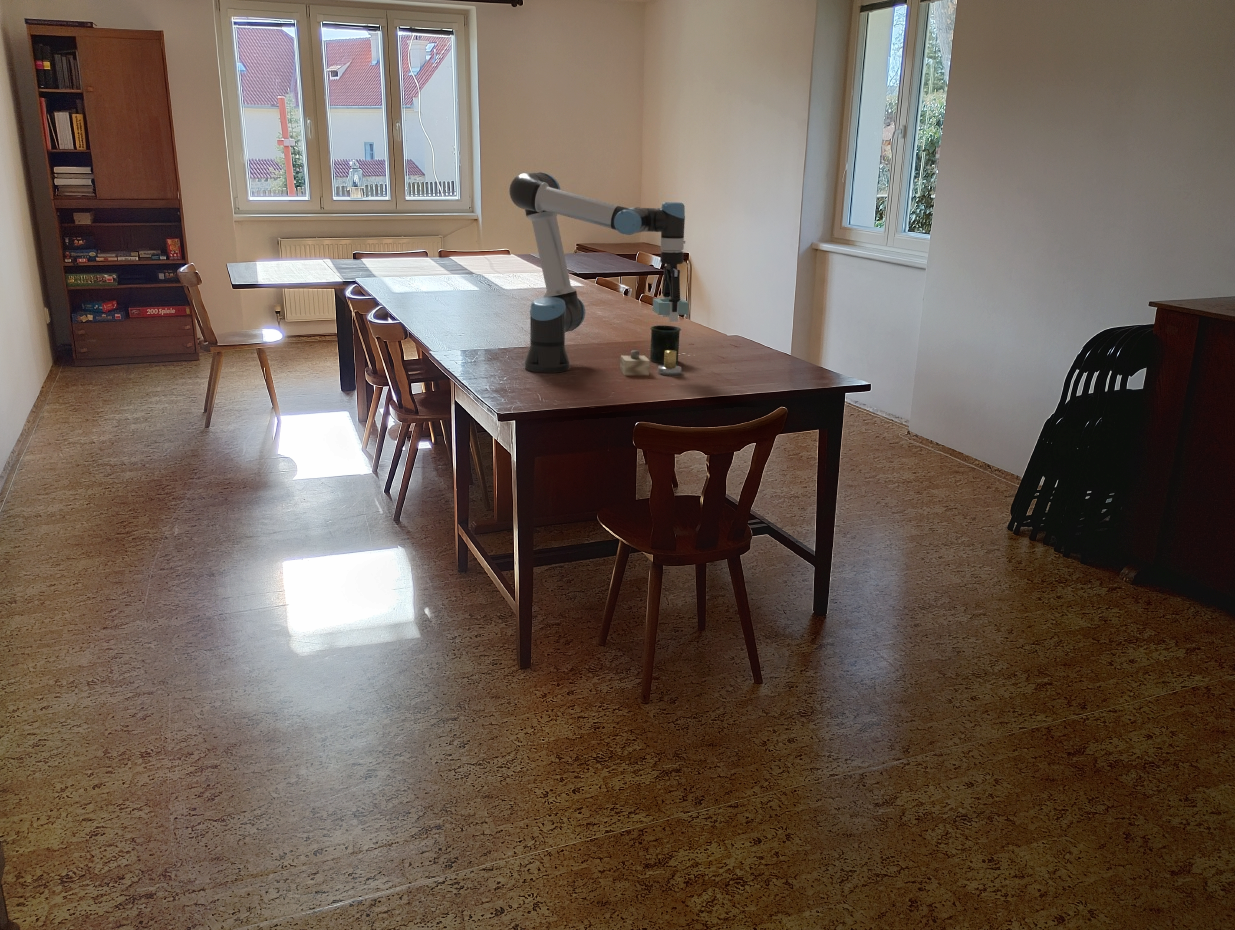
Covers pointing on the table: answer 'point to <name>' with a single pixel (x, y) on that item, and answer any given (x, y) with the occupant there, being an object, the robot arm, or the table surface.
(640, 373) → the stand
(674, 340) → the mug
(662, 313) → the teal square ring
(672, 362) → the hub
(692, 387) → the table surface
